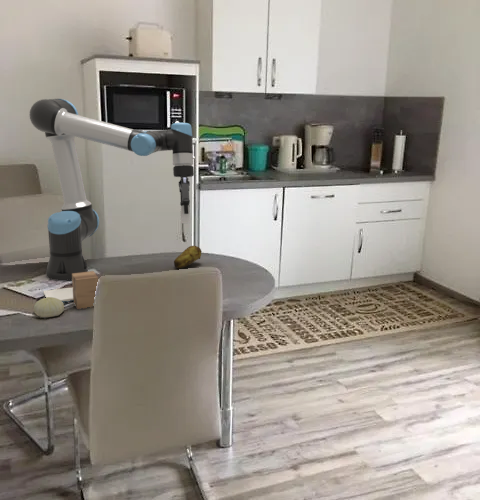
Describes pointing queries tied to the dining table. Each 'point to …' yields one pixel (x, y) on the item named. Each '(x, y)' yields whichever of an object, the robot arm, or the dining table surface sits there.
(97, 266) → the dining table surface
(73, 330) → the dining table surface
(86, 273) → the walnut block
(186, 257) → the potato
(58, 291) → the tile
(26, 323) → the dining table surface
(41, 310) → the sea urchin shell
